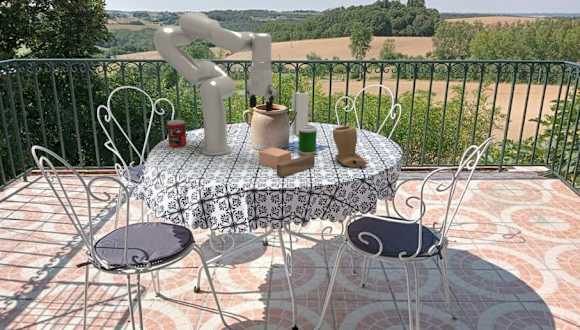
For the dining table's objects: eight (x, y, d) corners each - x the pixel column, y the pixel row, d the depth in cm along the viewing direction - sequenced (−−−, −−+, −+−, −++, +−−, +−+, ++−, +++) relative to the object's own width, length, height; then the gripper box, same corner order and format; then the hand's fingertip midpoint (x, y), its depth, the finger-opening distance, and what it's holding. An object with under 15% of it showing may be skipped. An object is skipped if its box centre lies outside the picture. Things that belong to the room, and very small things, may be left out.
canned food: (165, 146, 202) (163, 122, 198) (176, 142, 209) (174, 119, 205) (179, 148, 199) (177, 124, 195) (189, 143, 206) (188, 120, 202)
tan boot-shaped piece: (328, 157, 187) (330, 123, 182) (356, 156, 189) (358, 122, 184) (338, 169, 173) (339, 132, 168) (367, 168, 174) (369, 131, 170)
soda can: (314, 156, 188) (315, 129, 184) (297, 155, 190) (297, 128, 186) (317, 151, 195) (317, 125, 191) (300, 150, 197) (300, 124, 193)
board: (276, 175, 166) (276, 164, 164) (308, 164, 178) (308, 154, 177) (282, 177, 164) (282, 166, 162) (314, 166, 176) (314, 155, 175)
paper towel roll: (310, 134, 224) (310, 91, 217) (303, 136, 219) (304, 93, 212) (297, 132, 227) (298, 90, 221) (291, 134, 223) (291, 92, 216)
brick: (259, 164, 179) (259, 151, 177) (272, 159, 184) (272, 147, 183) (277, 169, 172) (277, 156, 171) (291, 165, 178) (291, 151, 176)
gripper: (239, 64, 177) (240, 106, 182) (269, 69, 166) (268, 114, 171) (254, 63, 182) (253, 104, 188) (283, 67, 171) (282, 111, 176)
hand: (261, 109), depth 179 cm, fingers open, 9 cm apart
